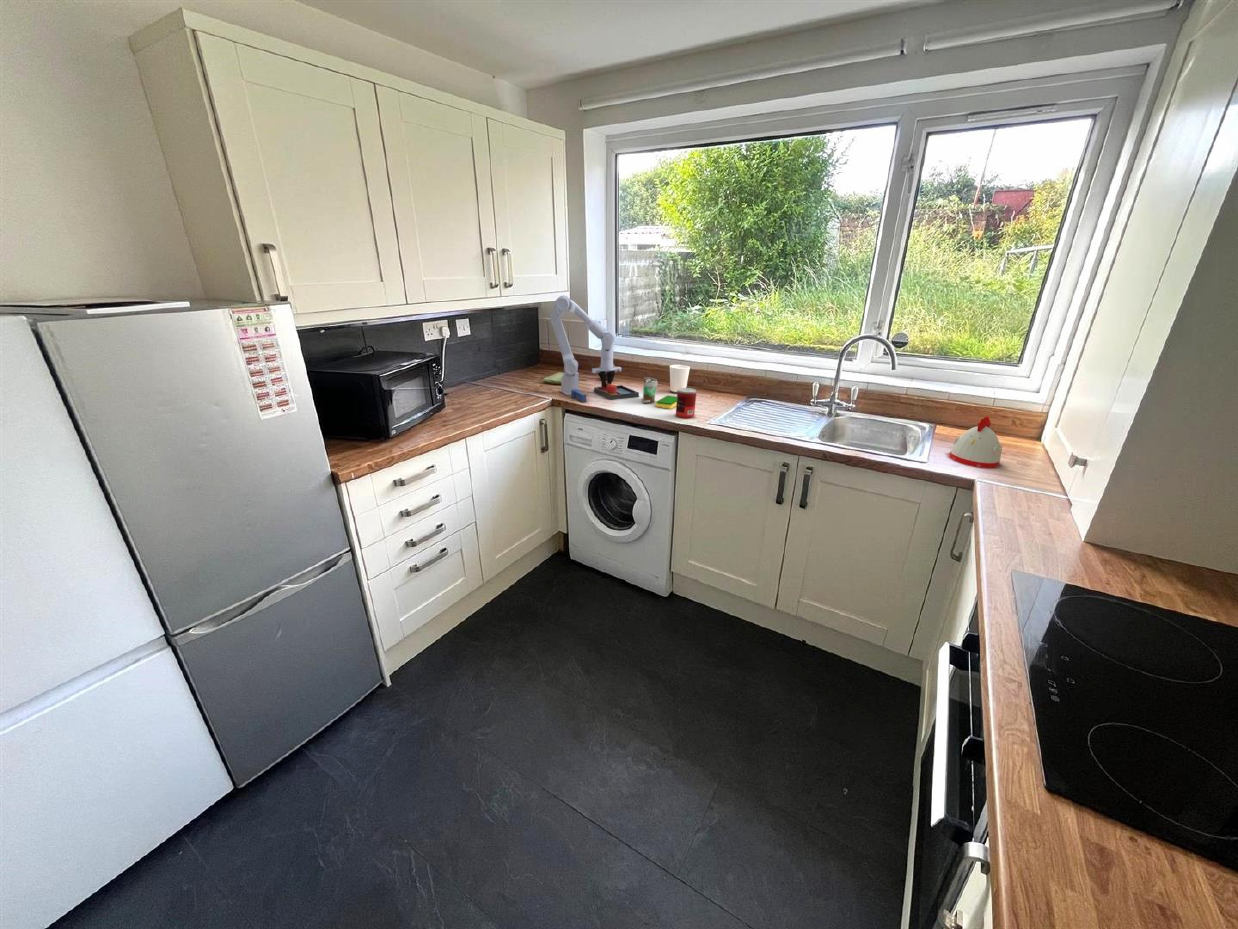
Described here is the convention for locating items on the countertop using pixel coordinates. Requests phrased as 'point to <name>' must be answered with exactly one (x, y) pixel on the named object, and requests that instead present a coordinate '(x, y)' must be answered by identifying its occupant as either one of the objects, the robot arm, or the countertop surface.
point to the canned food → (685, 402)
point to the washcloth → (554, 379)
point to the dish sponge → (667, 402)
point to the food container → (649, 390)
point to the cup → (678, 377)
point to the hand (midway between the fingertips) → (606, 387)
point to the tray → (621, 393)
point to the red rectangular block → (610, 388)
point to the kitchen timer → (977, 447)
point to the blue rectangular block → (578, 395)
